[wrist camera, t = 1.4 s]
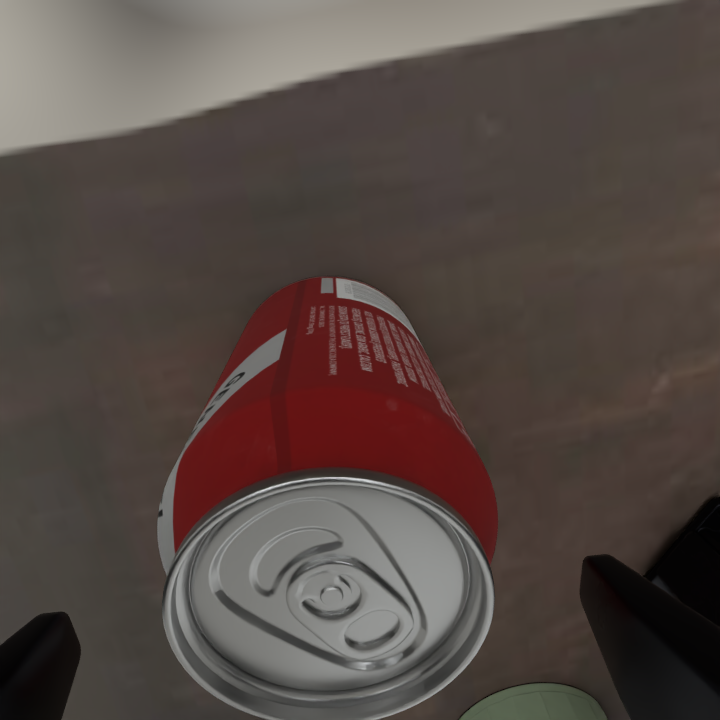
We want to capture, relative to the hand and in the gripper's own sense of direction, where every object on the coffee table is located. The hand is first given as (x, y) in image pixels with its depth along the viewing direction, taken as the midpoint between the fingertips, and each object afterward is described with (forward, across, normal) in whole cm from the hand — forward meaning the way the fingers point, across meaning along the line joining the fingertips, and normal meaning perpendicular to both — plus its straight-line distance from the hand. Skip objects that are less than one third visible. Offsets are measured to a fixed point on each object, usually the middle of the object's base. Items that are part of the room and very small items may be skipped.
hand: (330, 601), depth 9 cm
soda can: (+12, 0, 0) cm, 12 cm away
